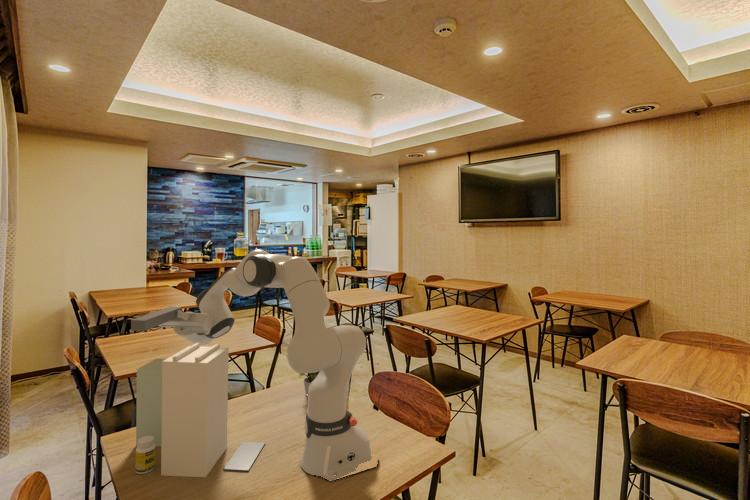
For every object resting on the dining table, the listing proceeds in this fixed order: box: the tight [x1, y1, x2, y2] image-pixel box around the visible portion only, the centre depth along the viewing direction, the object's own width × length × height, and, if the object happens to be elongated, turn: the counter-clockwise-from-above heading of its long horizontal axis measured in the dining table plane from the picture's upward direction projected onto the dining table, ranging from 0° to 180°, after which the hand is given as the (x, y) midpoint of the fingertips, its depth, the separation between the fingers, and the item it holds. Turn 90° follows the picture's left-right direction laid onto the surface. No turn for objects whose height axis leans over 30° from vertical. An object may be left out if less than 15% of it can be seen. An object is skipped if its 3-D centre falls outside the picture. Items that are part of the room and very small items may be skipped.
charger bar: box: [130, 306, 183, 332], centre depth 118 cm, size 20×4×3 cm, turn 179°
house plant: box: [298, 371, 320, 395], centre depth 155 cm, size 14×14×16 cm
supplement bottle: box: [134, 436, 157, 475], centre depth 104 cm, size 5×5×8 cm
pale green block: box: [135, 358, 167, 447], centre depth 120 cm, size 10×8×24 cm
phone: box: [223, 441, 266, 473], centre depth 112 cm, size 14×7×1 cm, turn 177°
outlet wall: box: [160, 343, 230, 478], centre depth 109 cm, size 14×12×32 cm
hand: (169, 312), depth 124 cm, fingers closed on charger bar, 4 cm apart
